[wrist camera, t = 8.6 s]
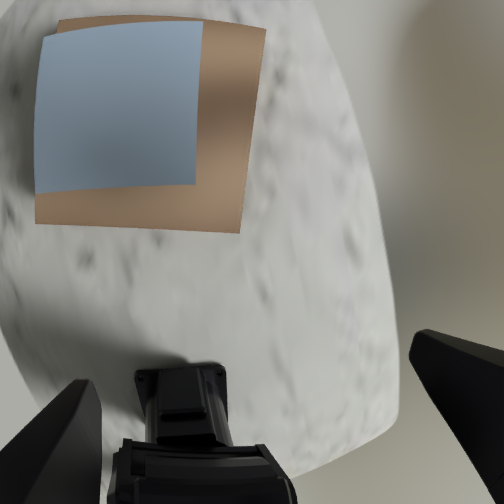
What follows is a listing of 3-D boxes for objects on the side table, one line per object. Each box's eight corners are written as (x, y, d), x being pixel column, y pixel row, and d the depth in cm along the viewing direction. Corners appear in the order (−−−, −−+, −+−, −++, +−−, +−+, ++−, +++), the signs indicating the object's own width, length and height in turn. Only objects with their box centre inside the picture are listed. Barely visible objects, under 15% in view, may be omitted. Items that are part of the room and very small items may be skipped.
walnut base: (226, 215, 19) (239, 233, 15) (61, 207, 16) (35, 223, 12) (247, 51, 16) (266, 29, 12) (80, 43, 13) (59, 20, 9)
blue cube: (189, 172, 13) (195, 184, 9) (81, 177, 12) (35, 193, 8) (193, 63, 12) (203, 21, 7) (84, 69, 11) (43, 36, 6)
